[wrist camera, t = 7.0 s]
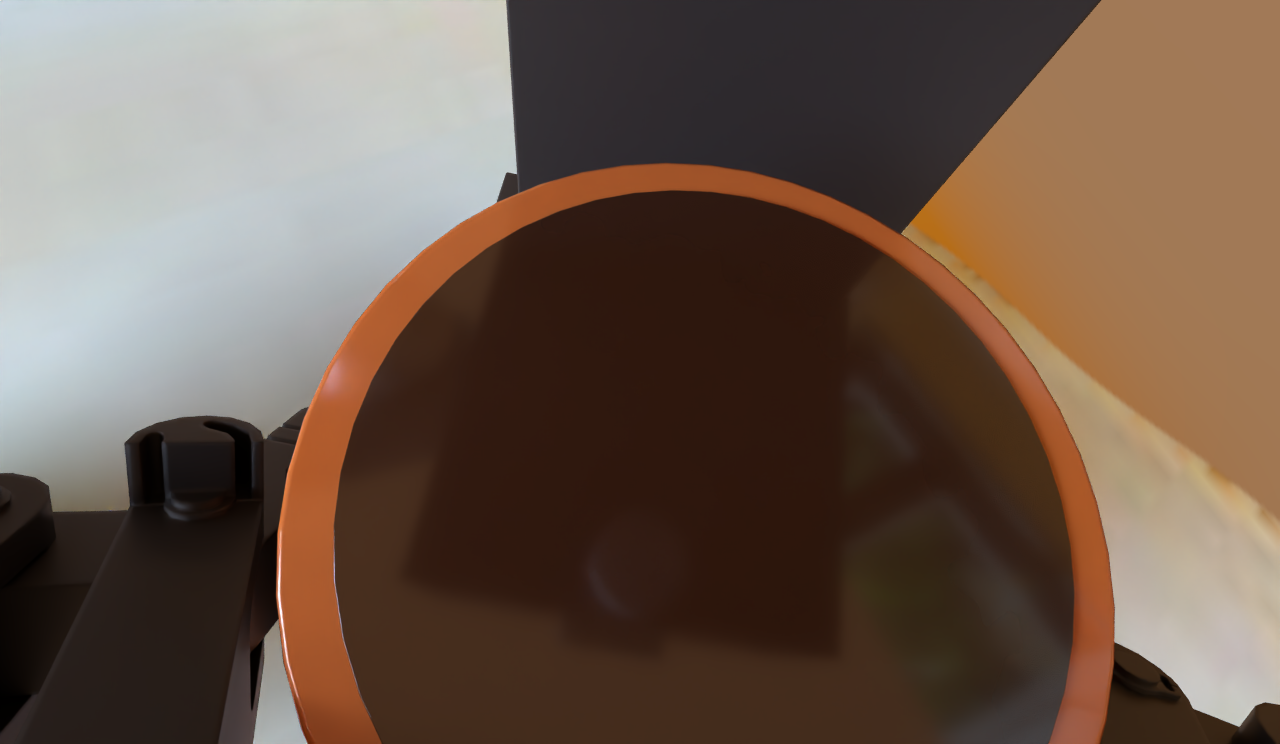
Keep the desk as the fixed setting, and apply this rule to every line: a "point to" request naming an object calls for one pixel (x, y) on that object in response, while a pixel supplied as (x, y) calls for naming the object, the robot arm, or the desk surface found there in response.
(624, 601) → the cup
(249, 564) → the robot arm
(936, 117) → the coffee maker
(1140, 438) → the desk surface
